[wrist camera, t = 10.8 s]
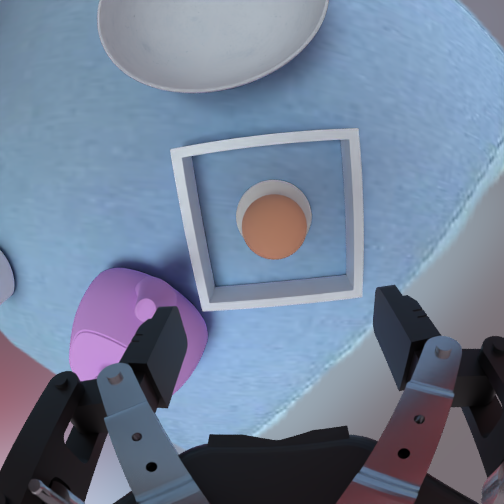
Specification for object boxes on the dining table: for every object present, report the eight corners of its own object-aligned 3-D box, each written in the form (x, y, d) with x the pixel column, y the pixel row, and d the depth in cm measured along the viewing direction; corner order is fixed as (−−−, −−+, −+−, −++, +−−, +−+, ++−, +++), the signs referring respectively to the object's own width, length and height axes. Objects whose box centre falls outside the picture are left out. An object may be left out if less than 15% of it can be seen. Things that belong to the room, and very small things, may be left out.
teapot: (252, 275, 28) (242, 355, 18) (170, 390, 35) (147, 460, 25) (128, 202, 26) (58, 246, 16) (81, 338, 33) (38, 397, 23)
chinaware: (345, 7, 19) (370, -31, 11) (249, 137, 24) (240, 139, 17) (202, -57, 16) (183, -100, 9) (110, 62, 21) (61, 46, 14)
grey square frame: (181, 147, 24) (170, 149, 21) (348, 128, 23) (358, 128, 20) (208, 294, 29) (202, 311, 27) (354, 281, 28) (362, 297, 25)
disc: (231, 184, 25) (231, 184, 25) (308, 176, 25) (308, 176, 24) (241, 254, 28) (241, 256, 27) (313, 247, 27) (313, 249, 27)
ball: (240, 192, 25) (233, 206, 20) (300, 185, 25) (308, 198, 20) (248, 248, 27) (244, 273, 22) (305, 242, 26) (312, 266, 22)
